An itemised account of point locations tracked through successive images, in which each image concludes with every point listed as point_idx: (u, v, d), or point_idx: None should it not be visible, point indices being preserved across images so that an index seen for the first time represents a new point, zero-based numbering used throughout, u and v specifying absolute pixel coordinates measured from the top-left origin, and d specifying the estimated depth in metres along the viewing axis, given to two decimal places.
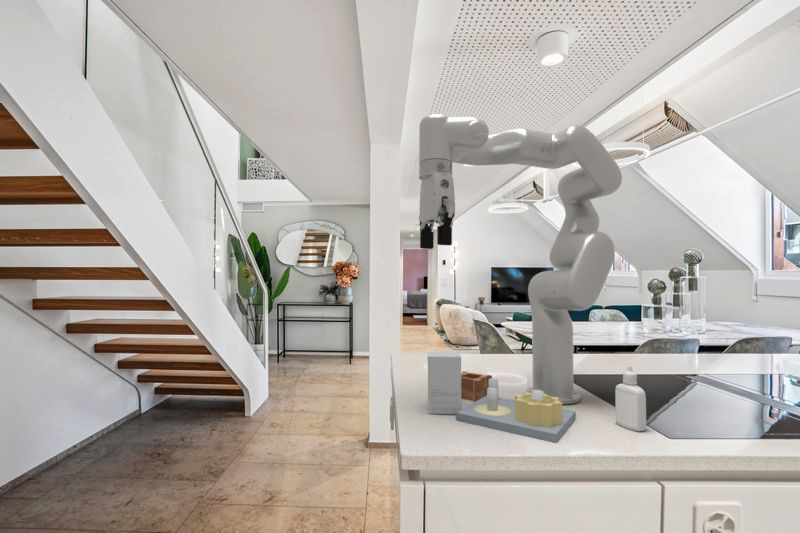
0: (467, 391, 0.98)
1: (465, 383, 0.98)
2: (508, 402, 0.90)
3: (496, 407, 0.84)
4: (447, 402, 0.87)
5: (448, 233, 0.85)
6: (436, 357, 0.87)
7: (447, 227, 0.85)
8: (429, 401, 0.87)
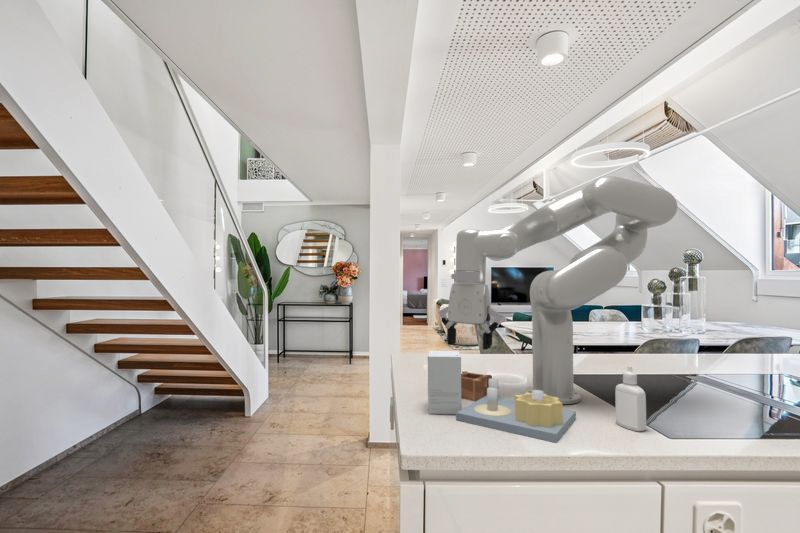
0: (467, 391, 0.98)
1: (465, 383, 0.98)
2: (508, 402, 0.90)
3: (496, 407, 0.84)
4: (447, 402, 0.87)
5: None
6: (436, 357, 0.87)
7: None
8: (429, 401, 0.87)
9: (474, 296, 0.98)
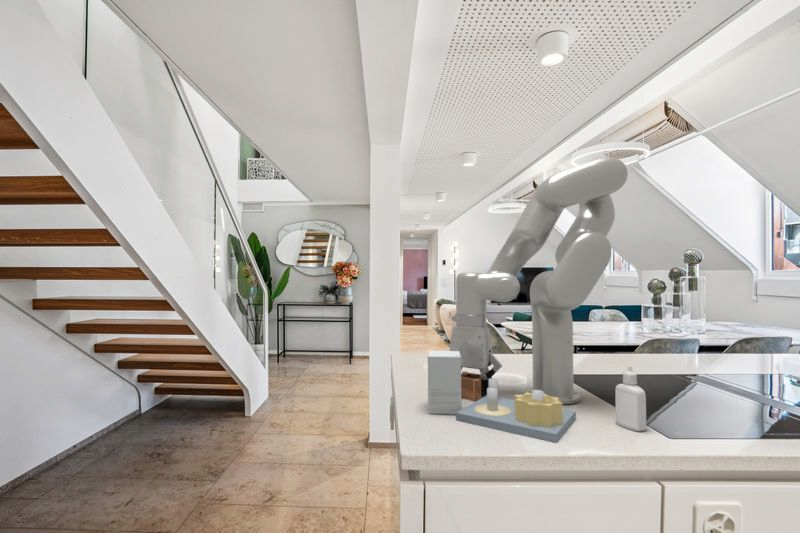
0: (467, 391, 0.98)
1: (465, 383, 0.98)
2: (508, 402, 0.90)
3: (496, 407, 0.84)
4: (447, 402, 0.86)
5: None
6: (436, 357, 0.87)
7: None
8: (429, 401, 0.87)
9: (475, 340, 0.98)
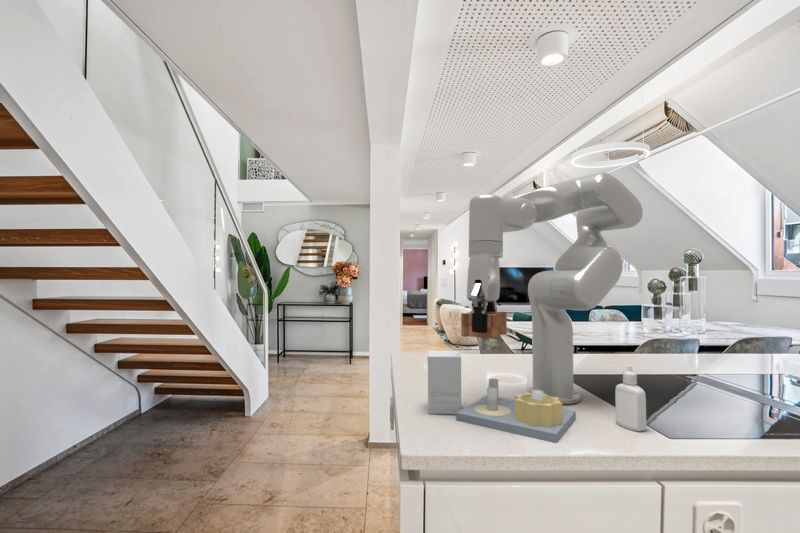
0: None
1: None
2: (508, 402, 0.90)
3: (496, 407, 0.84)
4: (447, 402, 0.87)
5: None
6: (436, 357, 0.87)
7: None
8: (429, 401, 0.87)
9: None
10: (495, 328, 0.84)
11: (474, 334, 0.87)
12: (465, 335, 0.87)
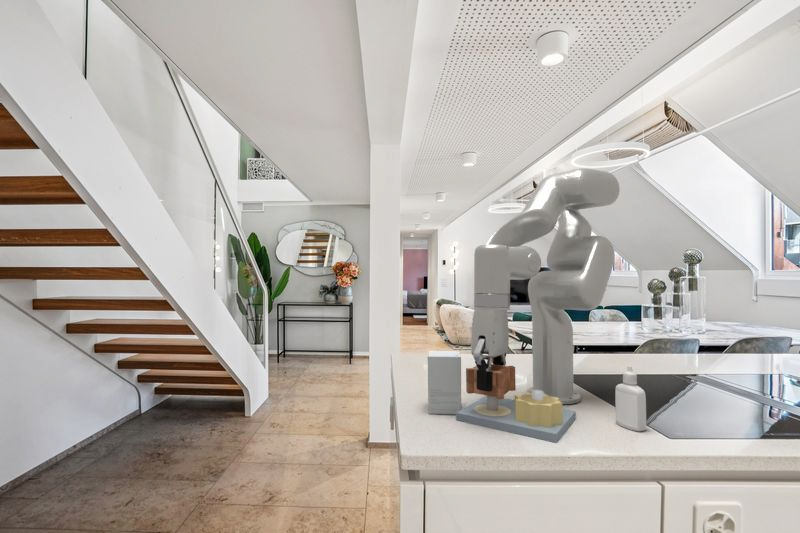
0: None
1: None
2: (508, 402, 0.90)
3: (496, 407, 0.84)
4: (447, 402, 0.87)
5: None
6: (436, 357, 0.87)
7: None
8: (429, 401, 0.87)
9: None
10: (500, 388, 0.80)
11: (479, 391, 0.83)
12: (470, 392, 0.84)
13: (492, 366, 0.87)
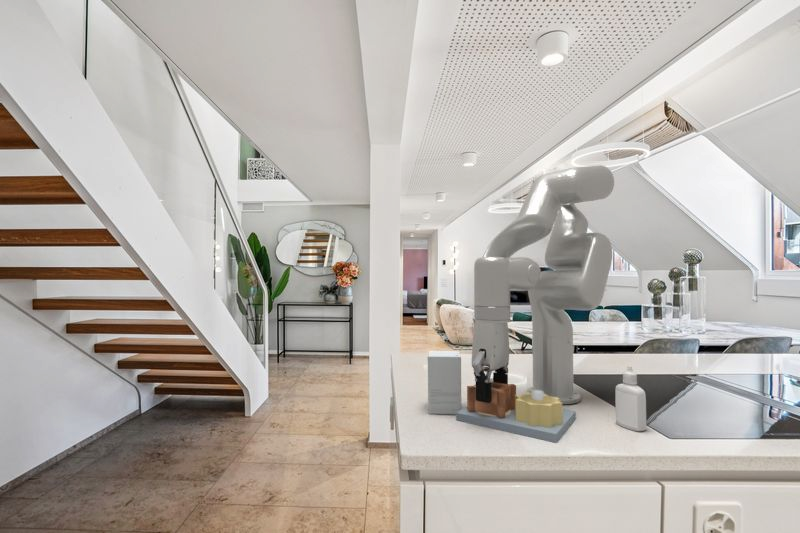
0: None
1: None
2: None
3: None
4: (447, 402, 0.86)
5: None
6: (436, 357, 0.87)
7: None
8: (429, 401, 0.87)
9: None
10: (501, 406, 0.80)
11: (480, 409, 0.83)
12: (471, 410, 0.84)
13: (493, 384, 0.87)
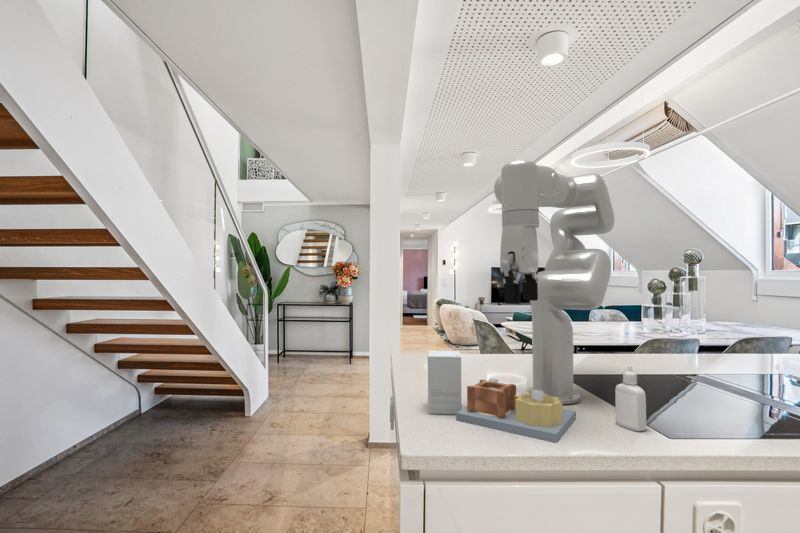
0: None
1: None
2: None
3: None
4: (447, 402, 0.87)
5: None
6: (436, 357, 0.87)
7: None
8: (429, 401, 0.87)
9: None
10: (501, 406, 0.80)
11: (480, 409, 0.83)
12: (471, 410, 0.84)
13: (493, 384, 0.87)
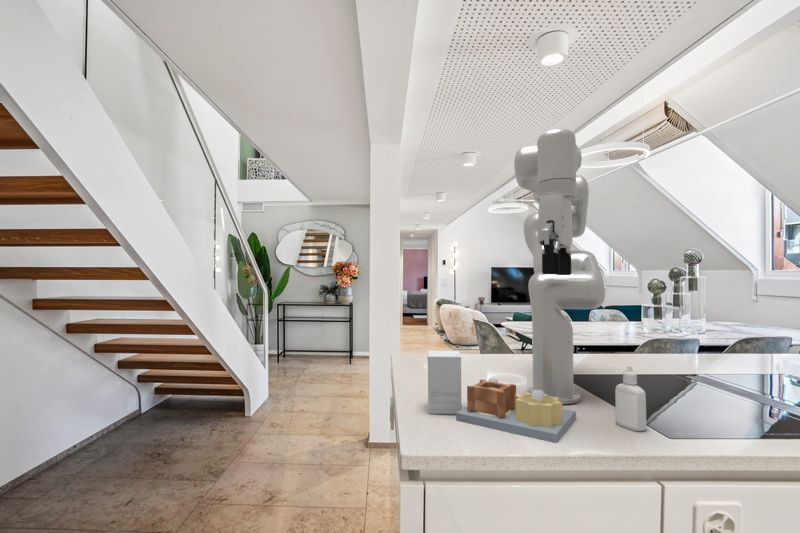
0: None
1: None
2: None
3: None
4: (447, 402, 0.86)
5: None
6: (436, 357, 0.87)
7: None
8: (429, 401, 0.87)
9: None
10: (501, 406, 0.80)
11: (480, 409, 0.83)
12: (471, 410, 0.84)
13: (493, 384, 0.87)
